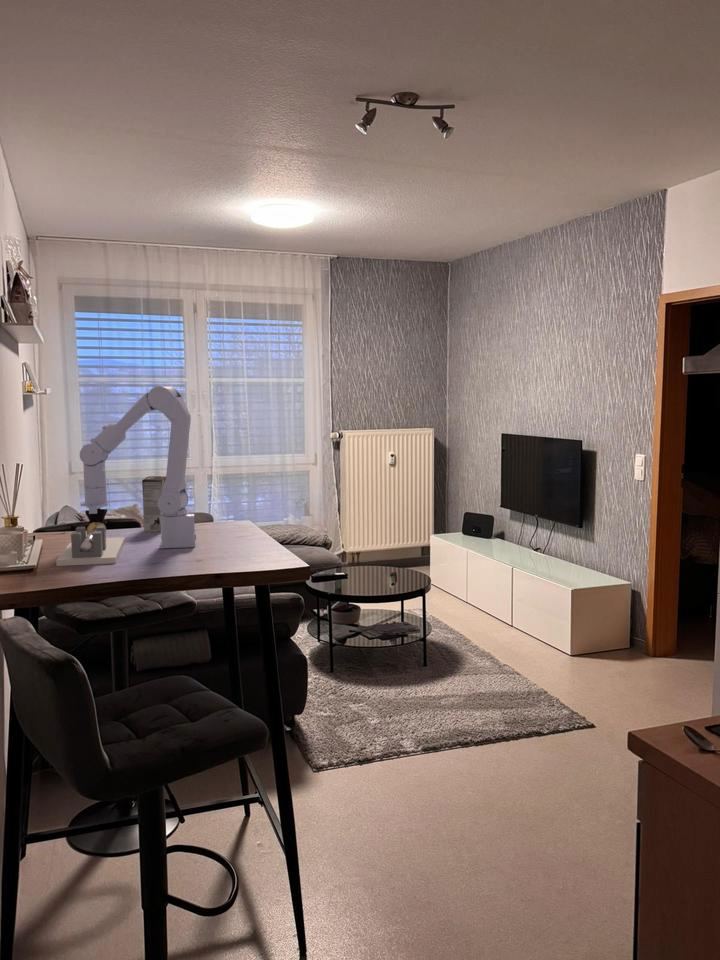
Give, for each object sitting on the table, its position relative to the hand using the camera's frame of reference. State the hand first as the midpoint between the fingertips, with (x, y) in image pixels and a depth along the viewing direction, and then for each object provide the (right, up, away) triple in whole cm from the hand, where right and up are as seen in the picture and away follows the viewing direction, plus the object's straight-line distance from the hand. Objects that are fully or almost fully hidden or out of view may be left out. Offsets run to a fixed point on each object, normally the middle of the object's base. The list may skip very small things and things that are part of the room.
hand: (97, 535), depth 215 cm
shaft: (+3, -2, -12) cm, 13 cm away
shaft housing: (+2, -4, -10) cm, 11 cm away
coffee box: (+10, 0, +26) cm, 28 cm away
